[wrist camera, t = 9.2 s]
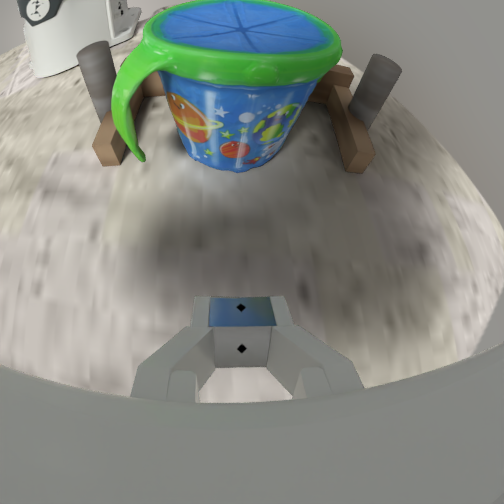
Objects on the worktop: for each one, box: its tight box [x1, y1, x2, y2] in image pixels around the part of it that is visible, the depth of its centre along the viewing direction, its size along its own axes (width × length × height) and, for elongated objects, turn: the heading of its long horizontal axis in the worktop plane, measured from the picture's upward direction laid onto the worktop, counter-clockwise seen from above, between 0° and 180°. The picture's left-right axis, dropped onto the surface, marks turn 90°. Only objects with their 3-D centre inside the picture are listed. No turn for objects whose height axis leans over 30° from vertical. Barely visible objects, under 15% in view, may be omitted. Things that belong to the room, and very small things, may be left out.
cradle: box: [76, 40, 402, 173], centre depth 17 cm, size 10×23×8 cm, turn 91°
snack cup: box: [111, 0, 343, 173], centre depth 15 cm, size 16×10×10 cm
